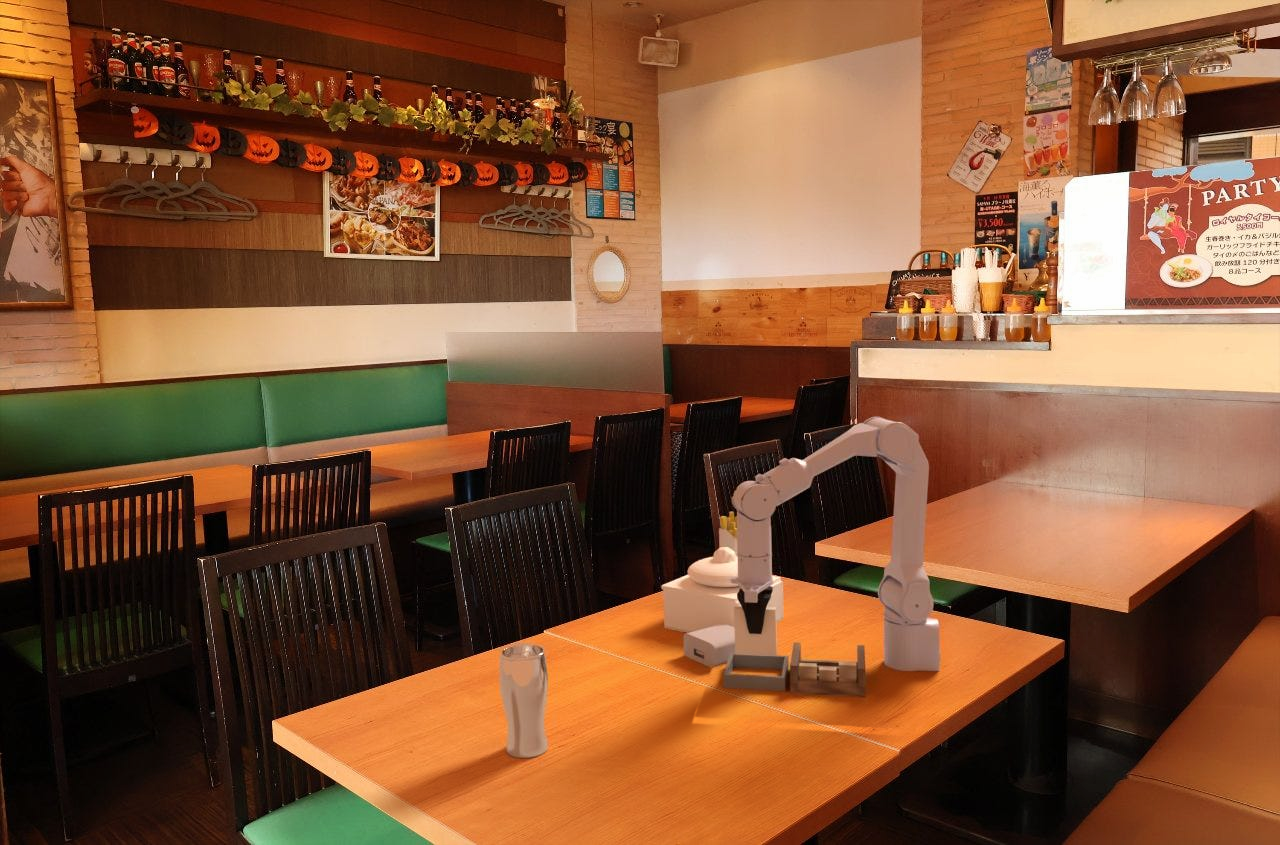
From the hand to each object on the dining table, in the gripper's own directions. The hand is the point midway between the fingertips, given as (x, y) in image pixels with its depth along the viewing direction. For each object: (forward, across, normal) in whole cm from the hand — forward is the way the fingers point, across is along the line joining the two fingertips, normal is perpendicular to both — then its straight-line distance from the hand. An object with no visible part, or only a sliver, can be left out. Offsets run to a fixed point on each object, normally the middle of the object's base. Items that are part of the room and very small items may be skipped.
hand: (755, 631), depth 165 cm
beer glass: (+9, +30, -31) cm, 44 cm away
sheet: (+4, 0, 0) cm, 4 cm away
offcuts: (+8, +4, +12) cm, 15 cm away
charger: (+9, -13, -6) cm, 17 cm away
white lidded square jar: (+9, -30, -10) cm, 33 cm away
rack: (+9, 0, +12) cm, 15 cm away
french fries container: (+9, -54, -8) cm, 55 cm away
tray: (+9, 0, 0) cm, 9 cm away
